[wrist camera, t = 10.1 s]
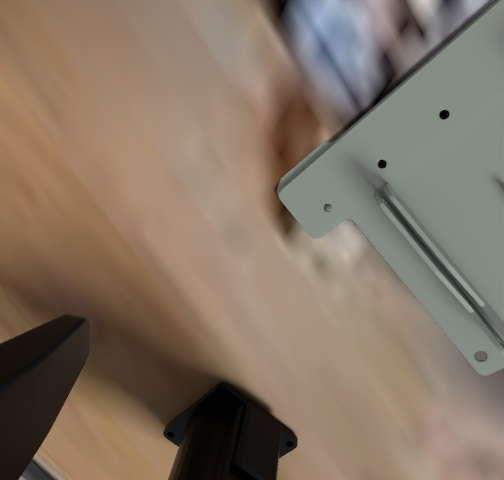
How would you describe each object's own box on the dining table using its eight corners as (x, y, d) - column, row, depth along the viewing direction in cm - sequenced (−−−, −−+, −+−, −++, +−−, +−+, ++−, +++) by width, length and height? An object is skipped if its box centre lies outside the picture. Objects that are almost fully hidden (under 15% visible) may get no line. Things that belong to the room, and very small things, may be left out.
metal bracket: (935, 224, 12) (458, 438, 18) (773, 197, 17) (447, 369, 23) (601, -153, 13) (246, 175, 19) (543, -67, 18) (282, 167, 24)
